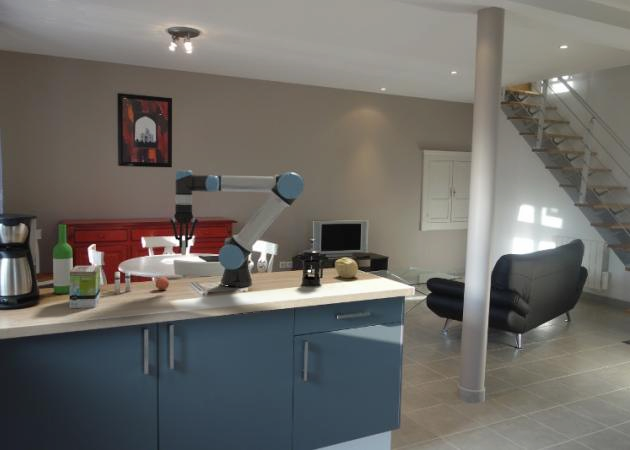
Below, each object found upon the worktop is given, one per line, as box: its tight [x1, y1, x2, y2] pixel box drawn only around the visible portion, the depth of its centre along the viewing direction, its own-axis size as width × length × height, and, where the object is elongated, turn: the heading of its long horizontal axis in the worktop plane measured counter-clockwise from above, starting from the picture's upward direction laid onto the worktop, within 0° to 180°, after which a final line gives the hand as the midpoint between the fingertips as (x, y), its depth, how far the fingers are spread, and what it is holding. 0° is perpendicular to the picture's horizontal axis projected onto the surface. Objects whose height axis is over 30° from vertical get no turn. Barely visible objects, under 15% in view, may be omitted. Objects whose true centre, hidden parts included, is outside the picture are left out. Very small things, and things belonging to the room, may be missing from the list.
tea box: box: [68, 265, 101, 309], centre depth 209 cm, size 15×10×15 cm, turn 17°
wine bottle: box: [52, 224, 74, 295], centre depth 227 cm, size 8×8×30 cm
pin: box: [114, 273, 121, 295], centre depth 229 cm, size 2×2×8 cm
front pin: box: [124, 272, 131, 293], centre depth 233 cm, size 2×2×8 cm
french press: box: [301, 238, 324, 287], centre depth 259 cm, size 12×9×23 cm
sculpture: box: [334, 256, 359, 279], centre depth 281 cm, size 11×12×11 cm
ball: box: [155, 276, 170, 291], centre depth 238 cm, size 6×6×6 cm
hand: (183, 254), depth 240 cm, fingers closed
